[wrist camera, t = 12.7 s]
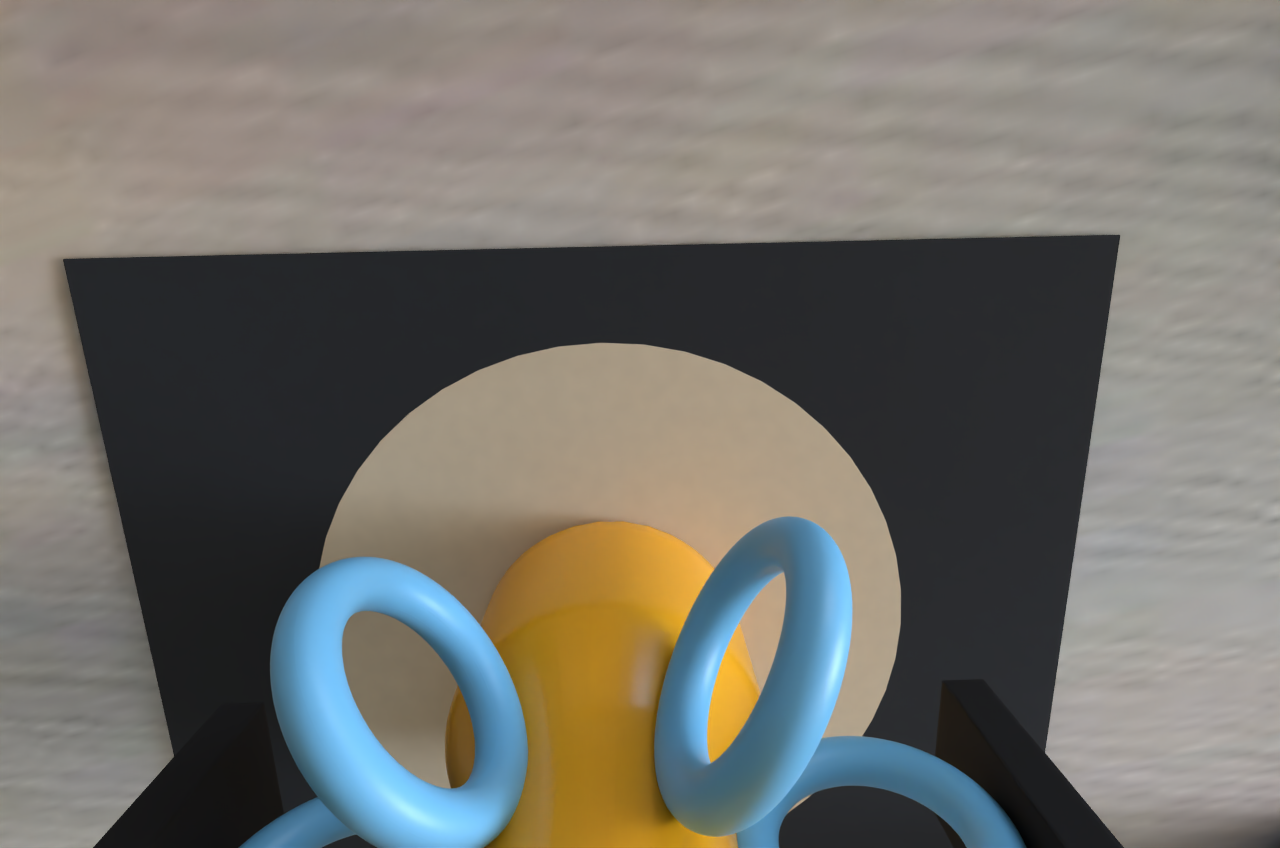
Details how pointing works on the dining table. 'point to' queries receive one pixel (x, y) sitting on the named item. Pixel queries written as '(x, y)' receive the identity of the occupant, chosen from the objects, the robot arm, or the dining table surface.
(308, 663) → the cylinder
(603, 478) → the mat
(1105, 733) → the dining table surface
